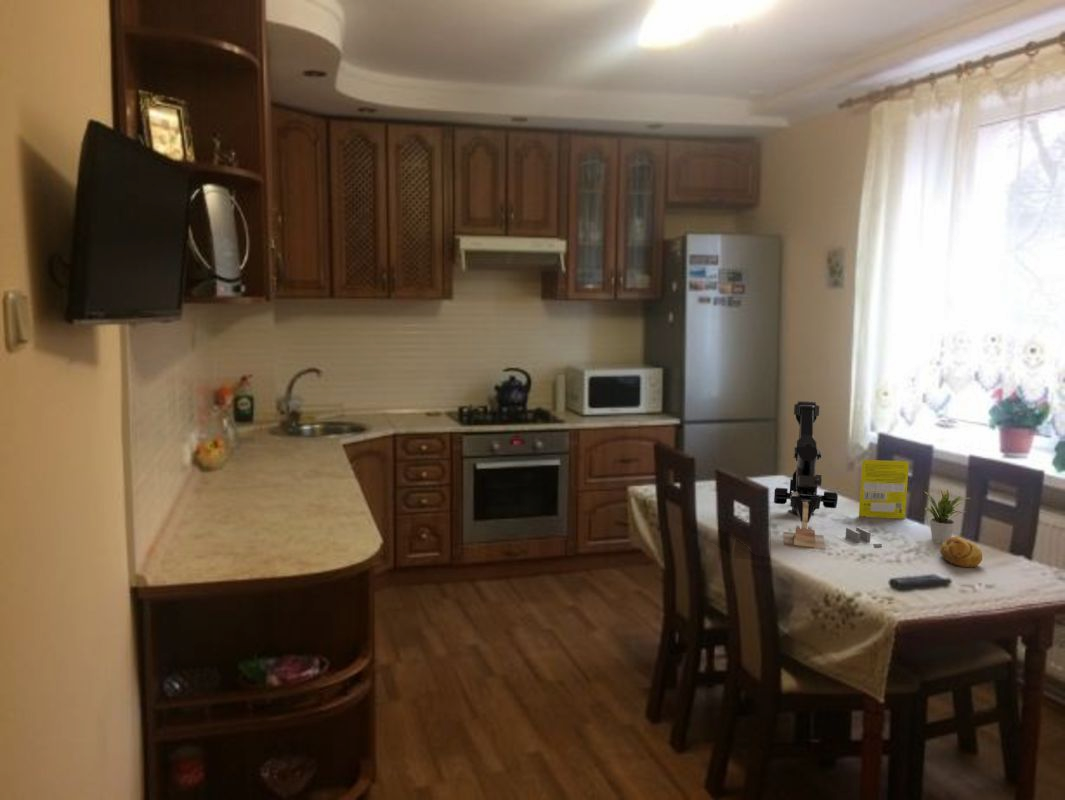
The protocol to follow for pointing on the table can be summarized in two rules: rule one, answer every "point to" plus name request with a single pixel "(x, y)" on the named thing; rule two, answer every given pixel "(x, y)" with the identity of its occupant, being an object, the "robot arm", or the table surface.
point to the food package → (883, 488)
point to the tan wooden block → (805, 515)
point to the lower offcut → (804, 542)
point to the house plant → (943, 517)
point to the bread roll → (961, 552)
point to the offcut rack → (790, 542)
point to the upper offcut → (805, 533)
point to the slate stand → (858, 537)
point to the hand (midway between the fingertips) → (804, 521)
